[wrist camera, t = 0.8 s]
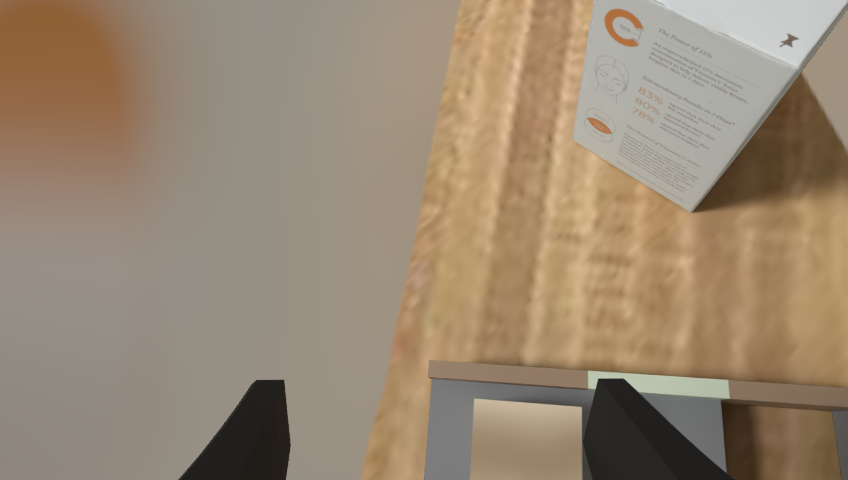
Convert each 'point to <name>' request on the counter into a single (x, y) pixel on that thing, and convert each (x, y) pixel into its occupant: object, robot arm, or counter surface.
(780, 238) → the counter surface
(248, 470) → the robot arm
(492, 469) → the maple block
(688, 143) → the small box
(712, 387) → the board
